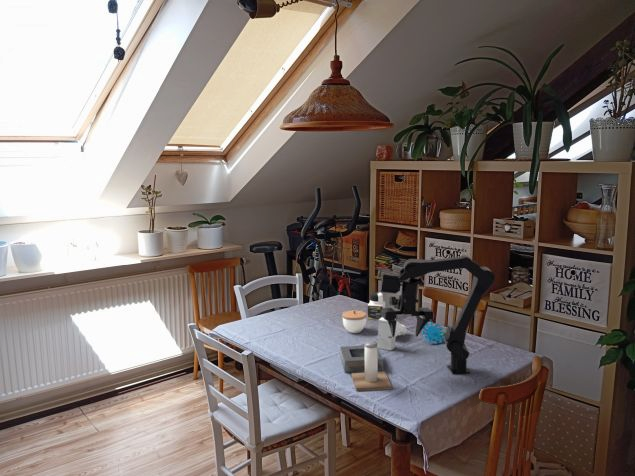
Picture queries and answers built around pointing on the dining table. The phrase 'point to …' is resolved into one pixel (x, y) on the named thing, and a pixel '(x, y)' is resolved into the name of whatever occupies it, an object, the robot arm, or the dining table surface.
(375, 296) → the medicine bottle
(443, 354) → the dining table surface
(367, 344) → the dome-capped cylinder
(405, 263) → the robot arm
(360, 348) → the collar
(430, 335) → the blue fuzzy rounded lump
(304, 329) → the dining table surface
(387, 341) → the skincare box
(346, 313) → the lidded jar
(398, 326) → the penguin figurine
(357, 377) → the pad
